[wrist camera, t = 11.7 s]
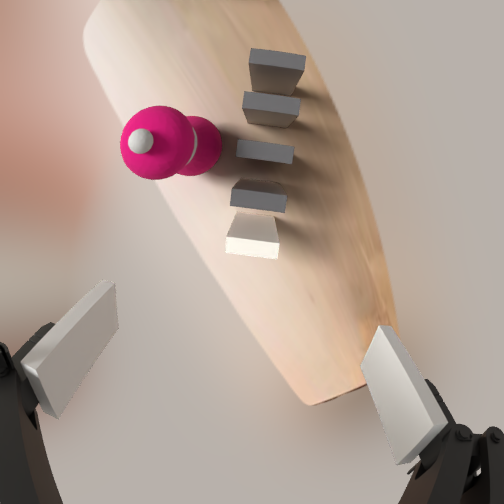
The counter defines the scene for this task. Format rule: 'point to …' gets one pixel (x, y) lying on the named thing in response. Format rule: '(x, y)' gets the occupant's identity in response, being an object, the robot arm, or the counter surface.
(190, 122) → the pepper mill
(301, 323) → the counter surface
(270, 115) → the domino
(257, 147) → the domino
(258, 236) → the white domino
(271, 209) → the domino
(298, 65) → the domino
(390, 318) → the counter surface
